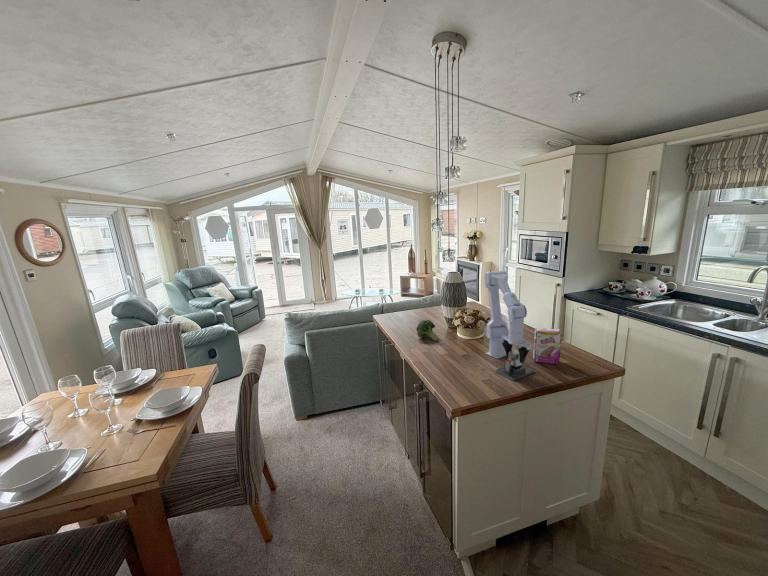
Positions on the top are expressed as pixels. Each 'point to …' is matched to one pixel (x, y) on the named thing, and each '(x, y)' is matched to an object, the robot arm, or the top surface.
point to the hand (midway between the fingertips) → (515, 359)
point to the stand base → (514, 371)
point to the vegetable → (426, 329)
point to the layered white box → (514, 358)
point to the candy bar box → (547, 345)
